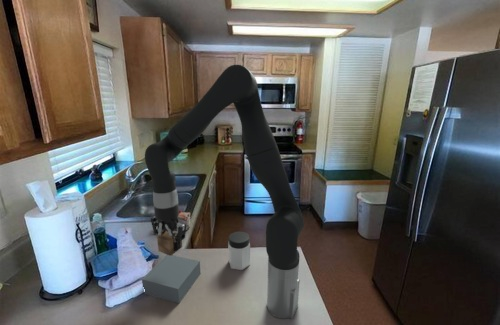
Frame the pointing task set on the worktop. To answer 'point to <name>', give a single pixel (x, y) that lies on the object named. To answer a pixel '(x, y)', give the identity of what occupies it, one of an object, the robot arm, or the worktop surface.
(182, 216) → the food item
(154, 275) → the slate block
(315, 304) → the worktop surface
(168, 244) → the walnut cube
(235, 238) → the jar
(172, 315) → the worktop surface
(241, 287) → the worktop surface
